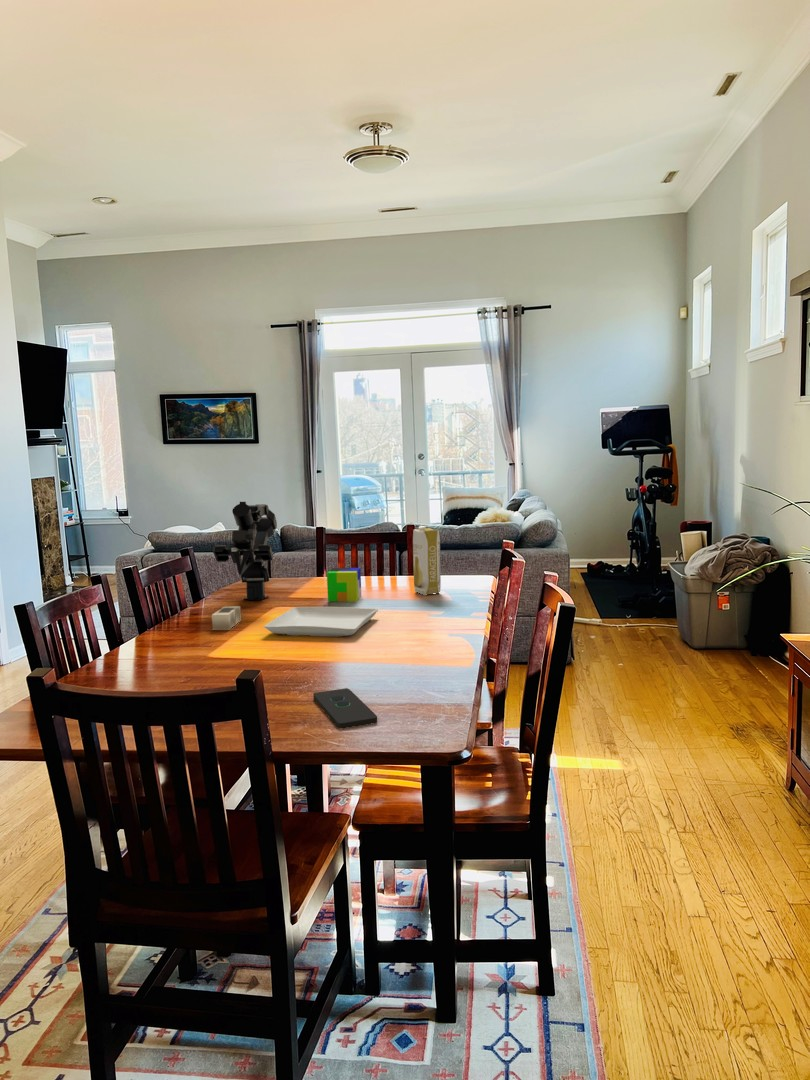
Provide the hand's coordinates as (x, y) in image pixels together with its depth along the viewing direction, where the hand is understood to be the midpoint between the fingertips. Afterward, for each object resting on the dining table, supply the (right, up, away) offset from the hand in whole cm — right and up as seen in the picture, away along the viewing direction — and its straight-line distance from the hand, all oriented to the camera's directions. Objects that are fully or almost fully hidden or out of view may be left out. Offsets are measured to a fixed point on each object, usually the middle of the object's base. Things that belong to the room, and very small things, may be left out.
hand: (239, 574), depth 254 cm
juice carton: (+61, -8, +25) cm, 67 cm away
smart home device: (+41, -24, -93) cm, 104 cm away
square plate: (+29, -15, -21) cm, 39 cm away
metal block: (0, -12, -11) cm, 16 cm away
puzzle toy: (+32, -10, +20) cm, 39 cm away
